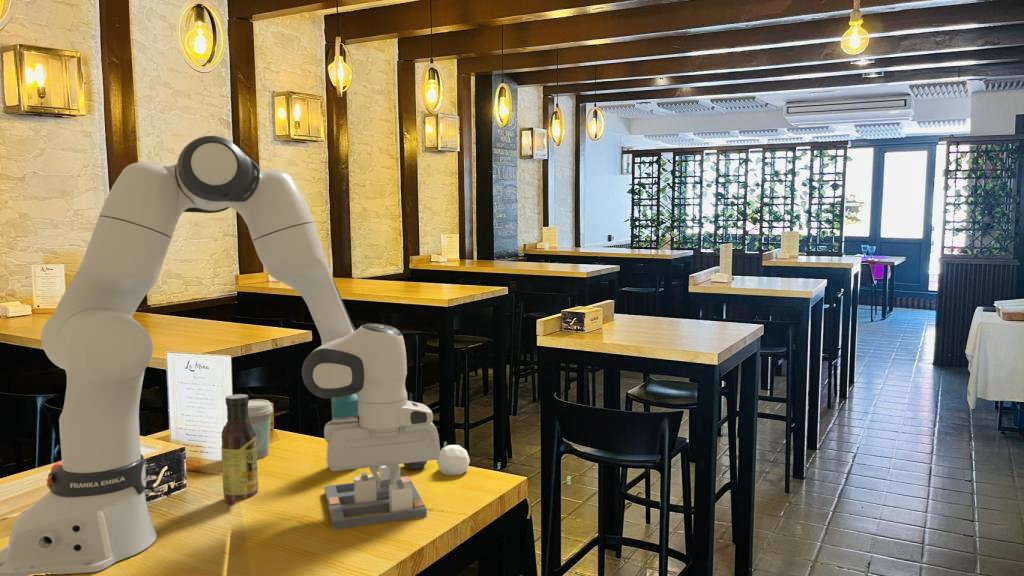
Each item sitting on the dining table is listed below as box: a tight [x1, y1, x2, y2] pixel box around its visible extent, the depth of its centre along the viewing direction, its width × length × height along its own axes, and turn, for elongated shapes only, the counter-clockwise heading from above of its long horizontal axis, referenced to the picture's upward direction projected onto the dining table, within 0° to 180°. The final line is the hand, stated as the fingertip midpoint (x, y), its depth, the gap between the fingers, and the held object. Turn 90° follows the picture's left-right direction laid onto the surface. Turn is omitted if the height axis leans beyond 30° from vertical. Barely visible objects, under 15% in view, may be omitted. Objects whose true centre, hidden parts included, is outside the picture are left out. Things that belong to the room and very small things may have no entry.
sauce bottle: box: [220, 393, 259, 505], centre depth 136 cm, size 6×6×20 cm
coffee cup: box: [248, 398, 274, 460], centre depth 161 cm, size 8×8×12 cm
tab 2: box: [378, 464, 402, 484], centre depth 138 cm, size 4×3×6 cm
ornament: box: [436, 444, 471, 476], centre depth 148 cm, size 6×7×7 cm
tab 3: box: [388, 480, 413, 512], centre depth 126 cm, size 4×3×6 cm
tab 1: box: [353, 472, 378, 504], centre depth 130 cm, size 4×3×6 cm
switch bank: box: [324, 475, 428, 531], centre depth 131 cm, size 16×17×3 cm
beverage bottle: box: [330, 394, 358, 424], centre depth 151 cm, size 6×7×20 cm
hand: (384, 487), depth 131 cm, fingers closed
